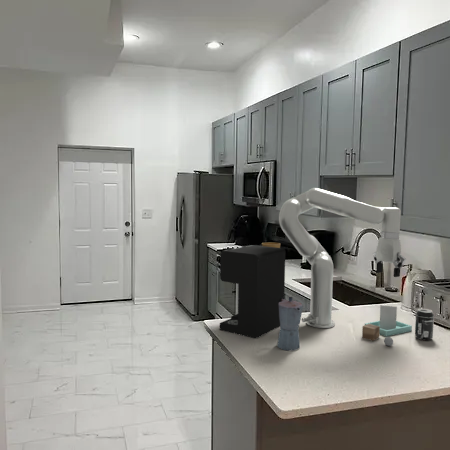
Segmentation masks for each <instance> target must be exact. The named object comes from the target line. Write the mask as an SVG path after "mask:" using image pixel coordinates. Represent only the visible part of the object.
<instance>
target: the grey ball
mask: <svg viewBox="0 0 450 450" xmlns="http://www.w3.org/2000/svg"><path fill="white" fill-rule="evenodd" d="M383 343H384V345H386V346H388V347H391V346H393V344H394V339H393V338H392V337H391V336H387V337H386V336H385V338H383Z"/></svg>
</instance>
